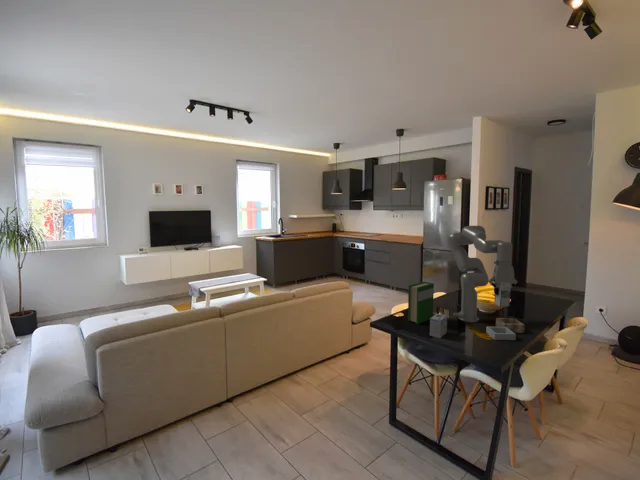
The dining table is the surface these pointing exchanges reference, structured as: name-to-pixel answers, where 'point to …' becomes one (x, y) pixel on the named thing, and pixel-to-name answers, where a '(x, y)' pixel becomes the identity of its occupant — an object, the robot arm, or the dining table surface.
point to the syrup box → (503, 295)
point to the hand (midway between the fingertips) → (502, 294)
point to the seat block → (501, 333)
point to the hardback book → (420, 302)
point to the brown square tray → (510, 324)
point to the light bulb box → (438, 325)
